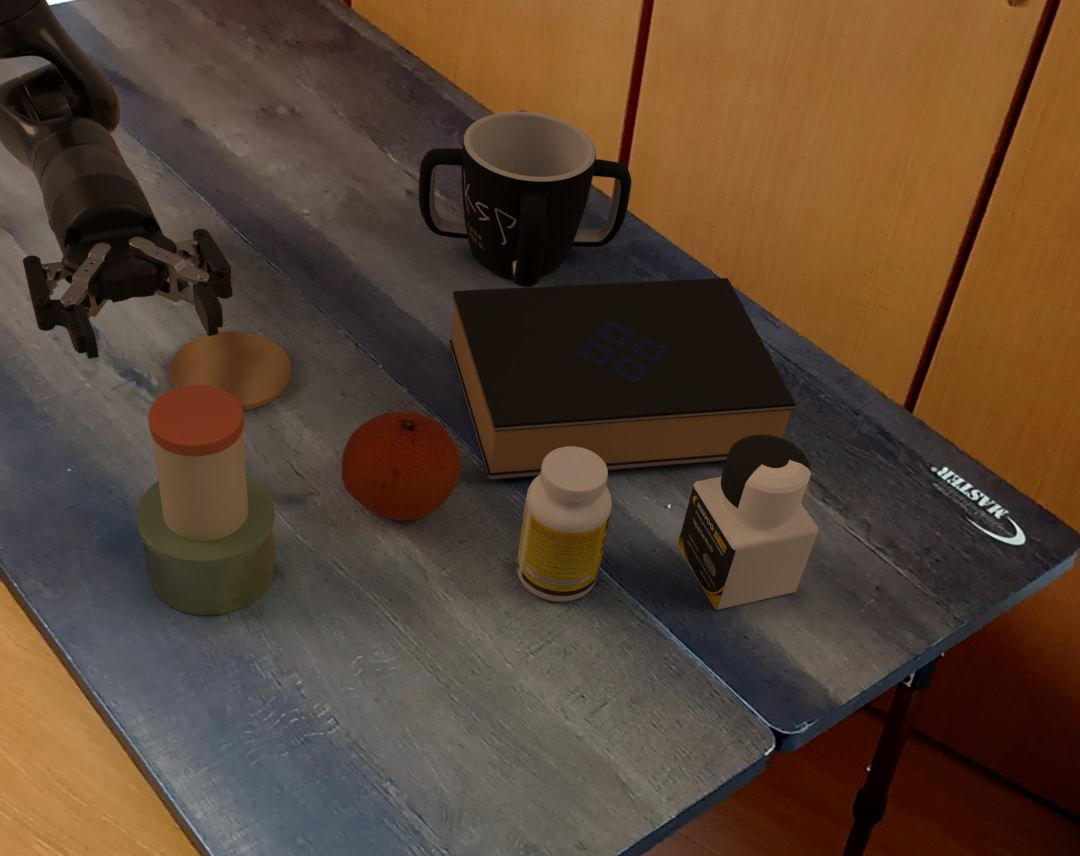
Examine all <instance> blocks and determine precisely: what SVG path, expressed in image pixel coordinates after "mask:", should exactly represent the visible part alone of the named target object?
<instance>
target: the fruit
mask: <svg viewBox="0 0 1080 856" xmlns="http://www.w3.org/2000/svg"><path fill="white" fill-rule="evenodd" d="M460 472H461V455H460V450H459V448H458V446H457V444H456V443H455V441H454V440H453V438H452V437H451V436H450V434H449V432H447V430H446V429H445V428H444V427H443V426H442V425H441V424H439V423H438V422H437V421H435V420H434V419H432V418H430V417H428V416H426V415H423V414H422V413H418V412H412V411H396V412H385V413H381V414H379V415H376V416H374V417H373V418H370V419H368V420H367V421H365V422H363V423H362V424H360V425H359V426H358V427H357V428H356V429H355V430H354V432H352V434H351V435H350V436H349V439H348V441H347V443H346V445H345V448H344V450H343V452H342V458H341V479H342V482H343V486H344V488H345V490H346V491H347V492H348V494H349V495H350V496H351V497H352V498H353V499H354V500H356V502H358V503H359V504H360V505H361V506H363V507H364V508H365V509H366V510H368V511H370V512H371V513H372V512H373V513H374V514H377V515H379V516H381V517H383V518H386V519H391V520H396V521H411V520H412V521H413V520H419V519H421V518H425V517H426V516H428V515H429V514H431V513H432V512H434V511H436V510H437V509H439V508H440V507H441V506H442V505H443V504H445V502H446V501H447V500H448V499H449V497H450V496H451V495H452V492H453V491H454V489H455V486H456V484H457V481H458V478H459V476H460Z"/></svg>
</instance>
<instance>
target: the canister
mask: <svg viewBox="0 0 1080 856" xmlns="http://www.w3.org/2000/svg"><path fill="white" fill-rule="evenodd" d="M147 420H148V427H149V432H150V436H151V438H152V445H153V452H154V460H155V468H156V474H157V481H158V482H159V489H160V497H161V504H162V511H163V518H164V521H165V523H166V525H167V526H168V527H169V529H170V530H171V531H173V532H174V533H175V534H177V535H179V536H181V537H183V538H186V539H189V540H194V541H212V540H217V539H221V538H224V537H226V536H228V535H230V534H232V533H234V532H235V531H237V530H238V529H239V528H240V527H241V526H242V525H243V523H244V522H245V520H246V518H247V515H248V498H247V483H246V473H247V471H246V470H247V469H246V456H245V442H244V428H245V427H244V426H245V419H244V411H243V409H242V406H241V404H240V402H239V401H238V400H237V399H236V398H235V397H234V396H233V395H232V394H230V393H229V392H227V391H225V390H223V389H221V388H217V387H214V386H209V385H187V386H182V387H178V388H173V389H170V390H168V391H165V392H164V393H162V394H161V395H159V397H157V398H156V399H155V400H154V401H153V402H152V404H151V406H150V408H149V410H148V415H147Z"/></svg>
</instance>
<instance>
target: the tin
mask: <svg viewBox="0 0 1080 856" xmlns="http://www.w3.org/2000/svg"><path fill="white" fill-rule="evenodd" d="M246 483H247V498H248V515H247V518H246V520H245V522H244V523H243V525H242V526H241V527H240V528H239V529H238V530H237V531H235V532H234V533H232V534H230V535H228V536H226V537H224V538H221V539H217V540H212V541H194V540H189V539H186V538H183V537H181V536H179V535H177V534H175V533H174V532H173V531H171V530H170V529H169V527H168V526H167V525H166V523H165V521H164V518H163V511H162V504H161V497H160V489H159V482H158V480H157V481H156V482H155V483H153V484H151V486H150V487H149V488H147V490H146V491H145V492H144V494H143V495H142V497H141V499H140V500H139V502H138V505H137V508H136V514H135V515H136V516H135V518H136V520H135V521H136V526H137V531H138V534H139V537H140V539H141V541H142V545H143V546H142V547H143V552H144V558H145V566H146V571H147V578H148V582H149V584H150V587H151V589H152V591H153V592H154V594H155V595H156V596H157V598H158V599H160V600H161V602H163V603H164V604H166V605H167V606H169V607H170V608H172V609H174V610H177V611H179V612H182V613H185V614H190V615H196V616H220V615H225V614H229V613H232V612H236V611H238V610H241V609H243V608H245V607H247V606H248V605H250V604H252V603H254V602H255V601H256V600H258V599H259V598H260V597H261V596H262V595H263V594H264V593H265V592H266V591H267V589H268V588H269V586H270V584H271V583H272V580H273V577H274V574H275V566H276V565H275V547H274V529H273V528H274V525H275V519H276V518H275V517H276V511H275V510H276V509H275V504H274V500H273V497H272V495H271V493H270V491H269V490H268V489H267V488H266V486H265V485H263V483H262V482H261V481H260V480H258V479H257V478H256V477H254V476H253V475H250V474H249V473H247V472H246Z"/></svg>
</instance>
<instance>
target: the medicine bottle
mask: <svg viewBox="0 0 1080 856" xmlns="http://www.w3.org/2000/svg"><path fill="white" fill-rule="evenodd" d="M810 463H811V462H810V461H809V460H808V458H807V456H806V455H805V453H804V452H803V451H802V449H800V448H799V447H798V446H797V445H795V444H794V443H792V442H791V441H789V440H787V439H784V438H780V437H776V436H772V435H752V436H748V437H745V438H743V439H741V440H739V441H737V442H736V443H734V444H733V446H732V447H731V448H730V450H729V453H728V456H727V459H726V461H725V463H724V466H723V471H722V473H721V476H718V477H712V478H707V479H702V480H698V481H695V482H694V483H693V486H692V488H691V493H690V497H689V501H688V503H687V508H686V511H685V516H684V518H683V523H682V527H681V529H680V534H679V538H678V541H677V546H678V549H679V552H681V554H682V556H683V558H684V559H685V561H686V562H687V565H688V567H689V568H690V570H691V571H692V573H693V574H694V577H695V578H696V580H697V581H698V583H699V585H700V586H701V589H702V590H703V591H704V593H705V595H706V597H707V598H708V600H709V602H710V604H711V605H712V607H713V608H714V609H715V610H718V611H719V610H723V609H724V610H725V609H727V608H732V607H736V606H737V607H738V606H742V605H745V604H750V603H755V602H759V601H763V600H767V599H773V598H777V597H781V596H786V595H789V594H793V593H796V592H797V590H798V587H799V584H800V581H801V579H802V576H803V573H804V571H805V568H806V566H807V563H808V560H809V558H810V555H811V552H812V550H813V547H814V546H815V545H814V544H815V542H816V539H817V537H818V533H819V527H818V526H817V524H816V523H815V521H814V520H813V518H812V517H811V515H810V514H809V513H808V511H807V509H806V508H805V507H804V505H803V504H802V502H803V499H804V496H805V493H806V491H807V487H808V485H809V482H810V479H811V476H812V467H811V464H810Z"/></svg>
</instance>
